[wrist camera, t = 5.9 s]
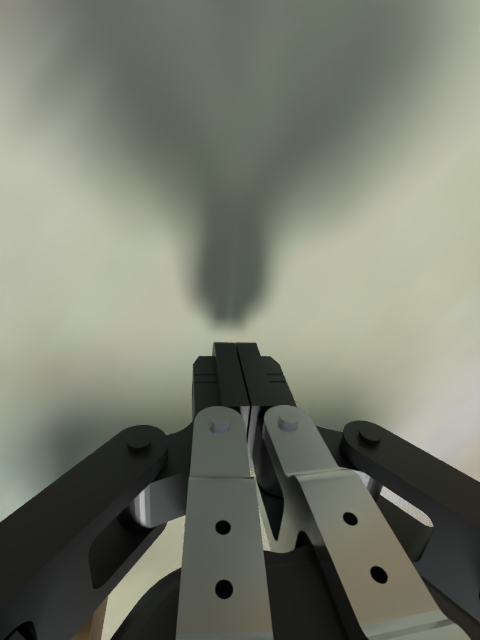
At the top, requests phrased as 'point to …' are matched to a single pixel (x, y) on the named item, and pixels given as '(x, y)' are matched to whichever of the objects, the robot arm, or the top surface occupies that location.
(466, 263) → the top surface
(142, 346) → the top surface
